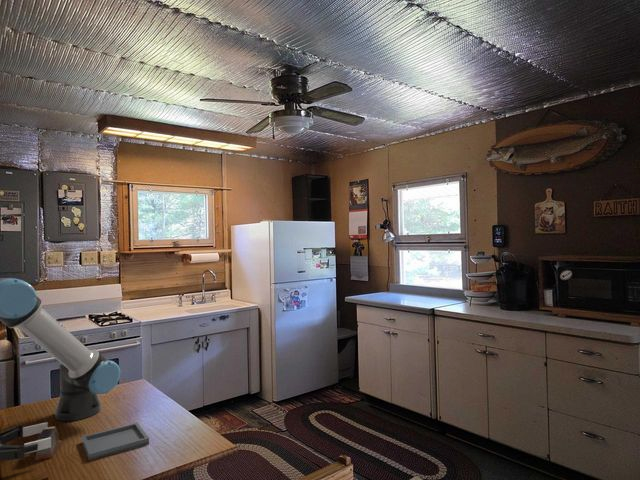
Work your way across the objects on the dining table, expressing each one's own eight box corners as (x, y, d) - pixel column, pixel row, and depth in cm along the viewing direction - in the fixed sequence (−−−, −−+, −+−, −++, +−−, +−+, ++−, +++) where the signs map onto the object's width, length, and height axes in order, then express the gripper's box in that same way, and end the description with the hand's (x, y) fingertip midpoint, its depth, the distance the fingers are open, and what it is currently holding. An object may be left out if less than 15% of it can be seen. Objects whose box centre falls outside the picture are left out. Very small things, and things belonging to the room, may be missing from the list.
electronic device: (62, 444, 139) (61, 420, 138) (52, 459, 129) (51, 434, 129) (46, 446, 137) (46, 422, 137) (35, 461, 128) (34, 436, 128)
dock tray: (81, 442, 139) (81, 436, 139) (137, 428, 149) (137, 422, 149) (89, 461, 127) (89, 454, 127) (149, 444, 137) (149, 437, 137)
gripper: (-37, 451, 130) (46, 432, 143) (-45, 489, 110) (52, 462, 123) (-38, 426, 130) (45, 409, 143) (-45, 459, 110) (52, 436, 123)
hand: (49, 434), depth 133 cm, fingers open, 13 cm apart
